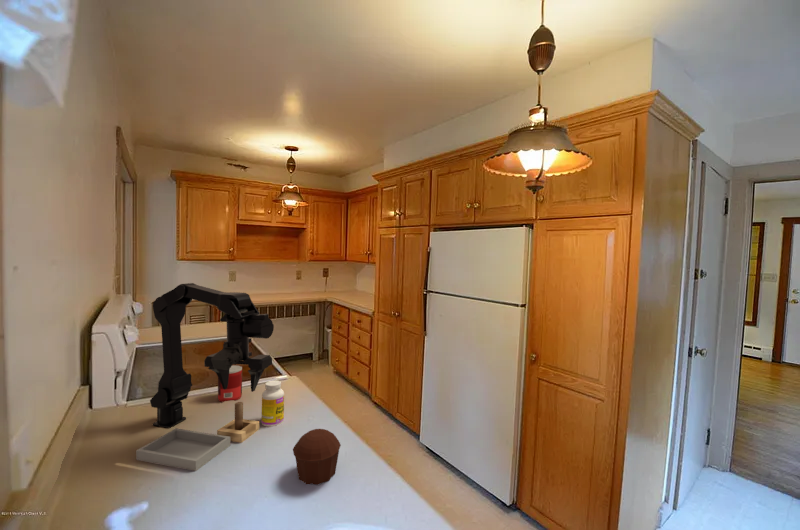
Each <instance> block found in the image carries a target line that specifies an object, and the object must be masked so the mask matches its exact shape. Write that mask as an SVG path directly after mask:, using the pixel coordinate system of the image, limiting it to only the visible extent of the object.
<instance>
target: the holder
mask: <svg viewBox="0 0 800 530" xmlns="http://www.w3.org/2000/svg"><path fill="white" fill-rule="evenodd" d="M259 430H260V421H258V420H254V419H253V420H252V419H246V418H243V429H242V430H235V418H234V419H233V420H231V421H229V422H228V423H226V424H225V425H223V426H222V427H220V428H219V429H217V431H216V435H222V436H229V437H230V442H234V443H239V444H242V443H243V442H245V441H247V440H248V439H249V438H250V437H251V436H253V435H254V434H256V432H258V431H259Z"/></svg>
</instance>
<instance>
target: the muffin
mask: <svg viewBox="0 0 800 530" xmlns="http://www.w3.org/2000/svg"><path fill="white" fill-rule="evenodd" d="M341 446H342V445H341V442H340V441H339V439H338V438H337V436H336V435H335V434H334V433H333V432H331V431H329V430H328V429H324V428H315V429H311V430H309V431H307V432H306V433H304V434H303V435H302V436H301V437H300V438H299V439H298V440H297V442H296V443H295V445H294V446H293V448H292V451H293V456H294V457H295V462H296V471H297V476H298V480H299V481H300V482H303V483H304V484H305V485H316V486H319V485H321V484H323V483H326V482H329V481H330V480H331V479H332V478H333V477H334V476H335V474H336V470H337V463H338V461H339V460H338V458H339V453H340V448H341Z"/></svg>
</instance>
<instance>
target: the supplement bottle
mask: <svg viewBox="0 0 800 530" xmlns="http://www.w3.org/2000/svg"><path fill="white" fill-rule="evenodd" d="M264 385H265V390H264V391H263V392H262V394H261V418H260V419H261V420H260V421H261V425H262V426H264V427H267V428H269V427H277V426H279V425H282V424H283V422H285V421H284V419H285V391H284V390H283V389H282V388H281V386H282V381H281V380H278V379H277V380H269V381H266V382H265V383H264Z"/></svg>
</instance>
